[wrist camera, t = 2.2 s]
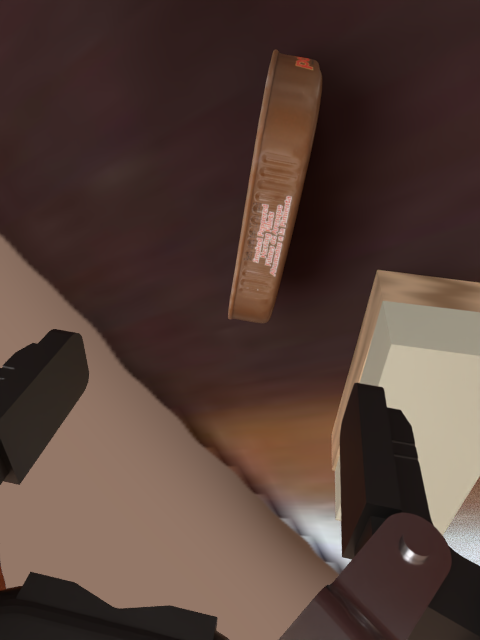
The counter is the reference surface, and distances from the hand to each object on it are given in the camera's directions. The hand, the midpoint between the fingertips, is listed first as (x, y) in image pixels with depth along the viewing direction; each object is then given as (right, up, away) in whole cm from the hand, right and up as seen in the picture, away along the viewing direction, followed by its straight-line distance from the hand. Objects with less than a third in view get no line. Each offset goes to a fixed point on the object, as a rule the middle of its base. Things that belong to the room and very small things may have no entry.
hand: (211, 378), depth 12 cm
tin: (+3, +11, +15) cm, 19 cm away
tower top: (+14, -5, +19) cm, 24 cm away
